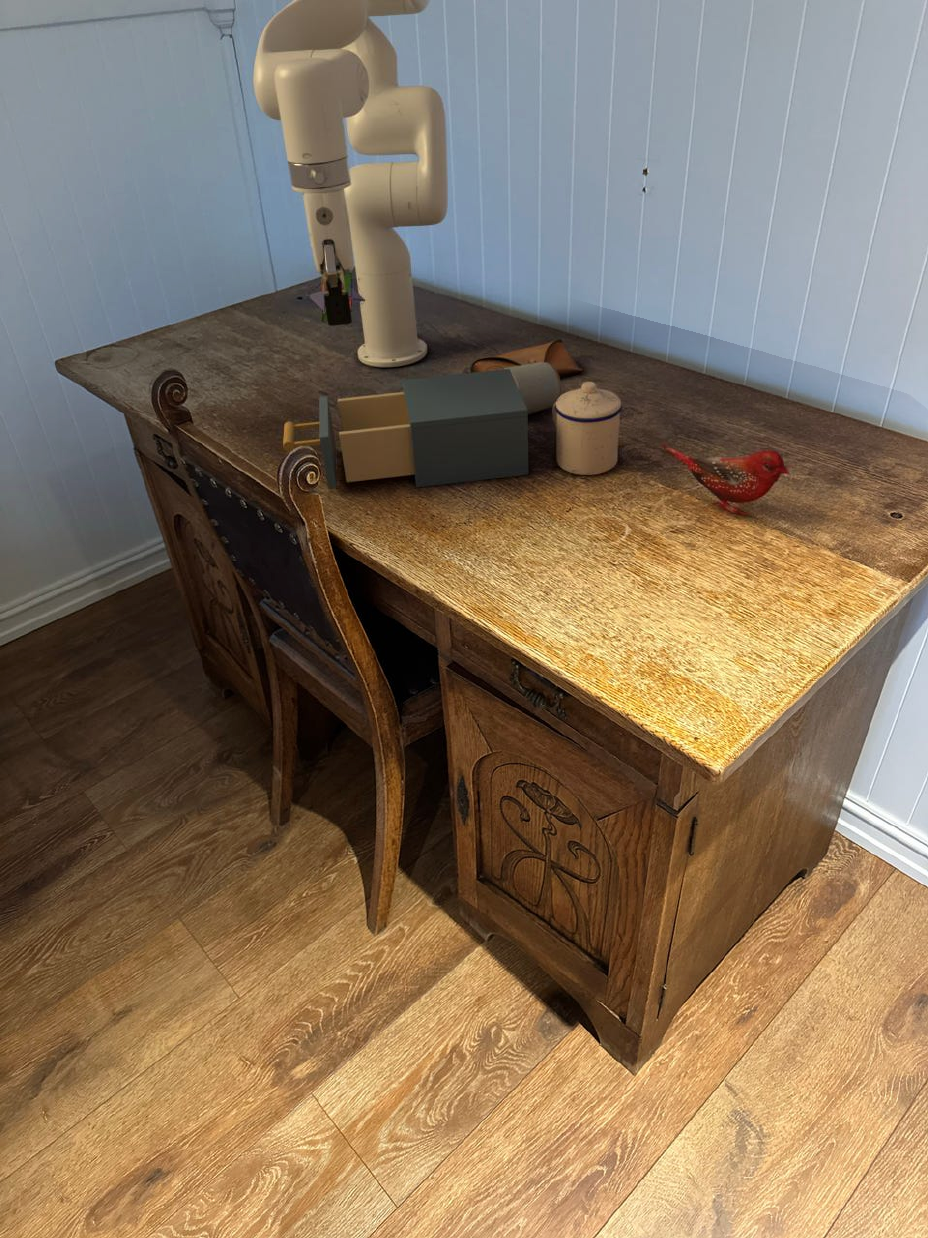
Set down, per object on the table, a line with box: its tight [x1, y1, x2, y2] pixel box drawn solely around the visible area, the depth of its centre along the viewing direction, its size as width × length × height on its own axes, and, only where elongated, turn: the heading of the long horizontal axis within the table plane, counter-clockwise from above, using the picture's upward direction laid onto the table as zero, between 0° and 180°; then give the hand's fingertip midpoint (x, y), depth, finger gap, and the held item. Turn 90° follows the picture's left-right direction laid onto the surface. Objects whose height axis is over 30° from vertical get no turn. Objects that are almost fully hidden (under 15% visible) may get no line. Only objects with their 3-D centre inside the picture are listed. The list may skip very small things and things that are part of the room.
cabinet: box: [401, 369, 529, 488], centre depth 128 cm, size 16×14×10 cm
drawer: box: [282, 391, 415, 490], centre depth 127 cm, size 20×13×8 cm, turn 97°
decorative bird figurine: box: [661, 444, 790, 517], centre depth 114 cm, size 3×18×10 cm, turn 47°
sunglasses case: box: [470, 339, 584, 379], centre depth 152 cm, size 18×7×7 cm
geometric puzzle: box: [306, 271, 366, 326], centre depth 123 cm, size 7×7×8 cm
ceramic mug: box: [504, 362, 562, 415], centre depth 141 cm, size 11×8×8 cm
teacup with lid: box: [551, 381, 623, 476], centre depth 126 cm, size 12×9×12 cm
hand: (339, 313), depth 124 cm, fingers closed on geometric puzzle, 7 cm apart
